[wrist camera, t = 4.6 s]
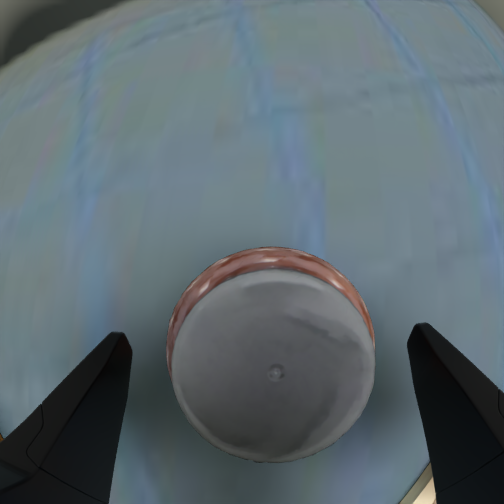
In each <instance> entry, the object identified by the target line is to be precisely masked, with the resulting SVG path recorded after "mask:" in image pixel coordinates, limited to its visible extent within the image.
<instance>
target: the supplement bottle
mask: <svg viewBox="0 0 504 504" xmlns="http://www.w3.org/2000/svg"><path fill="white" fill-rule="evenodd" d="M166 357H167V367H168V370H169V375H170V378H171V382H172V384H173V388H174V392H175V396H176V398H177V400H178V403H179V405H180V407H181V409H182V411H183V413H184V414H185V416H186V418H187V420H188V421H189V423H190V424H191V425H192V426H193V428H194V429H195V430H196V431H197V432H198V433H199V434H200V435H201V436H202V437H203V438H204V439H206V440H207V441H208V442H209V443H210V444H212V445H213V446H214V447H216V448H218V449H220V450H221V451H224V452H226V453H228V454H230V455H233V456H236V457H239V458H242V459H246V460H252V461H254V462H257V463H263V462H268V463H281V462H291V461H294V460H297V459H301V458H305V457H308V456H311V455H314V454H316V453H317V452H319V451H321V450H323V449H325V448H327V447H329V446H330V445H332V444H334V443H335V442H336V441H337V440H338V439H339V438H340V437H341V436H343V435H344V434H345V433H346V432H347V431H348V430H349V429H350V428H351V427H352V426H353V424H354V423H355V422H356V421H357V420H358V418H359V417H360V416H361V414H362V412H363V410H364V408H365V406H366V405H367V402H368V399H369V396H370V394H371V392H372V389H373V385H374V377H375V339H374V330H373V326H372V322H371V318H370V316H369V313H368V310H367V308H366V305H365V303H364V301H363V299H362V298H361V296H360V295H359V293H358V291H357V290H356V289H355V287H354V286H353V285H352V284H351V282H350V281H349V280H348V279H347V278H346V277H345V276H344V275H343V274H342V273H341V272H339V271H338V270H337V269H336V268H334V267H333V266H332V265H331V264H329V263H328V262H326V261H324V260H322V259H320V258H318V257H316V256H314V255H311V254H308V253H306V252H304V251H300V250H296V249H290V248H283V247H260V248H255V249H248V250H244V251H241V252H238V253H235V254H232V255H229V256H227V257H225V258H223V259H220V260H219V261H217V262H215V263H214V264H212V265H211V266H210V267H208V268H207V269H206V270H205V271H204V272H202V273H201V274H200V275H199V276H198V277H197V278H196V279H195V280H193V281H192V282H191V284H190V285H189V286H188V287H187V289H186V290H185V291H184V293H183V294H182V296H181V298H180V300H179V301H178V303H177V305H176V306H175V308H174V312H173V314H172V317H171V319H170V322H169V329H168V333H167V342H166Z"/></svg>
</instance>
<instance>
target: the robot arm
mask: <svg viewBox="0 0 504 504" xmlns="http://www.w3.org/2000/svg"><path fill="white" fill-rule="evenodd" d="M407 348H408V354H409V360H410V366H411V372H412V379H413V385H414V390H415V394H416V398H417V402H418V406H419V410H420V415H421V419H422V423H423V428H424V433H425V437H426V442H427V447H428V452H429V458H430V463H431V469H432V475H433V481H434V488H435V493H436V494H435V496H436V503H437V504H504V393H503V392H502V391H501V390H500V389H498V387H497V386H496V385H495V384H494V383H493V382H492V381H491V380H490V379H489V378H488V377H487V376H486V375H484V374H483V373H482V372H481V371H480V370H479V369H478V368H477V367H476V366H475V365H474V364H473V363H472V362H471V361H470V360H469V359H467V358H466V357H465V356H464V355H463V354H462V353H461V352H460V351H459V350H458V349H457V348H455V347H454V346H453V345H452V344H451V343H450V342H449V341H448V340H447V339H446V338H444V337H443V336H442V335H441V334H440V333H439V332H438V331H437V330H435V329H434V328H433V327H432V326H431V325H430V324H428V323H417V324H416V325H415V326H414V327H413V330H412V332H411V334H410V336H409V339H408V342H407ZM131 363H132V348H131V346H130V344H129V342H128V340H127V337H126V335H125V334H124V333H123V332H111V333H110V334H108V335H107V336H106V337H105V338H104V339H103V340H102V341H101V342H100V343H99V344H98V345H97V346H96V347H95V348H94V349H93V350H92V351H91V352H90V353H89V354H88V355H87V356H86V357H85V358H84V359H83V360H82V361H81V362H80V364H79V365H78V366H77V367H76V368H75V369H74V370H73V371H72V372H71V373H70V374H69V375H68V376H67V377H66V378H65V379H64V380H63V381H62V382H61V383H60V384H59V385H58V386H57V387H56V388H55V389H54V390H53V391H52V392H51V393H50V394H49V396H48V397H47V398H46V399H45V400H44V401H43V402H42V404H40V405H39V406H38V407H37V408H36V409H35V410H34V411H33V412H32V413H31V414H30V415H29V416H28V417H27V418H26V419H25V421H23V422H22V423H21V424H20V425H19V426H18V427H17V428H16V429H15V430H14V431H13V432H11V433H10V434H9V435H8V436H7V437H6V438H5V439H3V440H2V441H1V442H0V504H109V498H110V490H111V484H112V477H113V471H114V465H115V459H116V453H117V448H118V442H119V437H120V432H121V427H122V422H123V417H124V412H125V407H126V402H127V397H128V389H129V380H130V371H131Z"/></svg>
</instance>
